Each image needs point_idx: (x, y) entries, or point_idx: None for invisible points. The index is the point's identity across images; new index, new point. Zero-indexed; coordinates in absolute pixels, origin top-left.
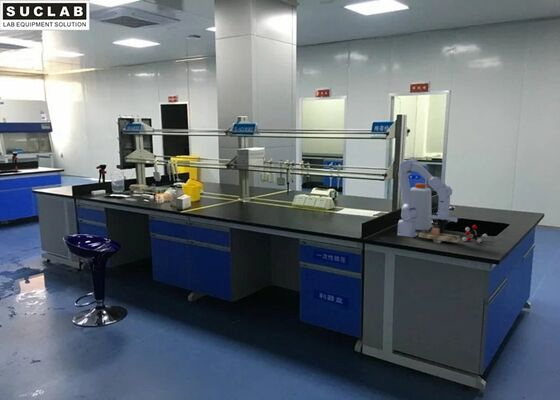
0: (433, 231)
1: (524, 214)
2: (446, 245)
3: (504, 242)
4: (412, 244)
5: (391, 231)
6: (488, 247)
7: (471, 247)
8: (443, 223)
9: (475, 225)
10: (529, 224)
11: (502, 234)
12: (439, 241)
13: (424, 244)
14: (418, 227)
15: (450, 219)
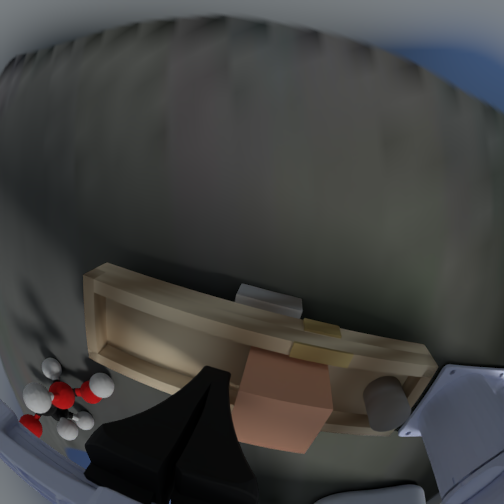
0: (307, 387)
1: None
2: (182, 226)
3: (16, 373)
4: (462, 148)
5: None
6: (11, 278)
7: (49, 243)
8: (141, 438)
9: None
10: None
11: (66, 456)
12: (244, 290)
13: (377, 181)
14: (370, 500)
15: (23, 449)
